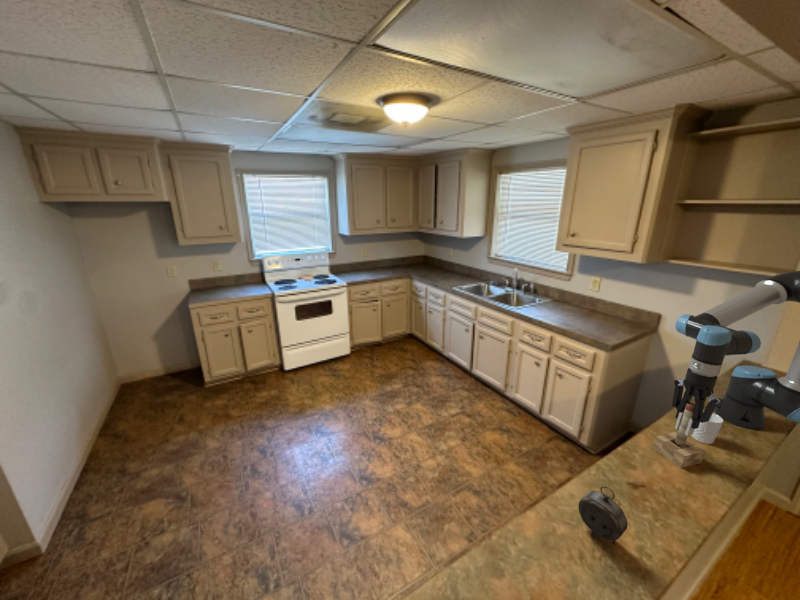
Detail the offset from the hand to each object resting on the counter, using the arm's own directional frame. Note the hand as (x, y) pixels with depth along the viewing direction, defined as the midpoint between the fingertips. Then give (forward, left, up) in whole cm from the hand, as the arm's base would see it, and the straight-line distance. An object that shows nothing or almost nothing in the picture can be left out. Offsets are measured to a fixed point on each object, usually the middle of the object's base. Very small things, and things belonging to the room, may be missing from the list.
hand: (683, 431), depth 117 cm
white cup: (-19, -4, -11) cm, 22 cm away
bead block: (0, 0, -10) cm, 10 cm away
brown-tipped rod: (0, 0, -5) cm, 5 cm away
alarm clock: (+52, +16, -11) cm, 55 cm away
